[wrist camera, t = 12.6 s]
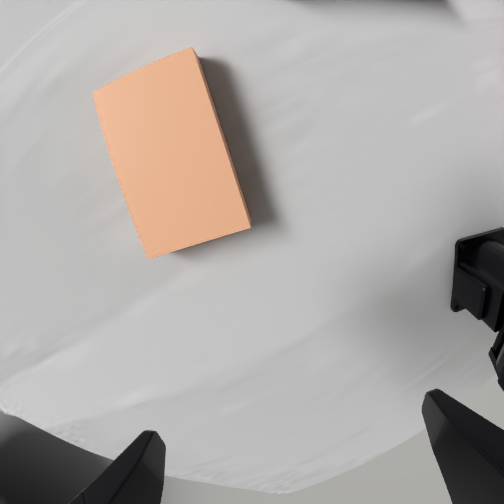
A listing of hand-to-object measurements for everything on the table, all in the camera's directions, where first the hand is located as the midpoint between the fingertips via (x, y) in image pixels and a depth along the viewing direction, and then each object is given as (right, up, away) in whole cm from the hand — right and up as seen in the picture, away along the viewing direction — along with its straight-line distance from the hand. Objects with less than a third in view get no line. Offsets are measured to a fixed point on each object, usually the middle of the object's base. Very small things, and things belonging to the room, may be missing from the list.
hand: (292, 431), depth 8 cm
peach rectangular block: (-4, +6, +10) cm, 13 cm away
